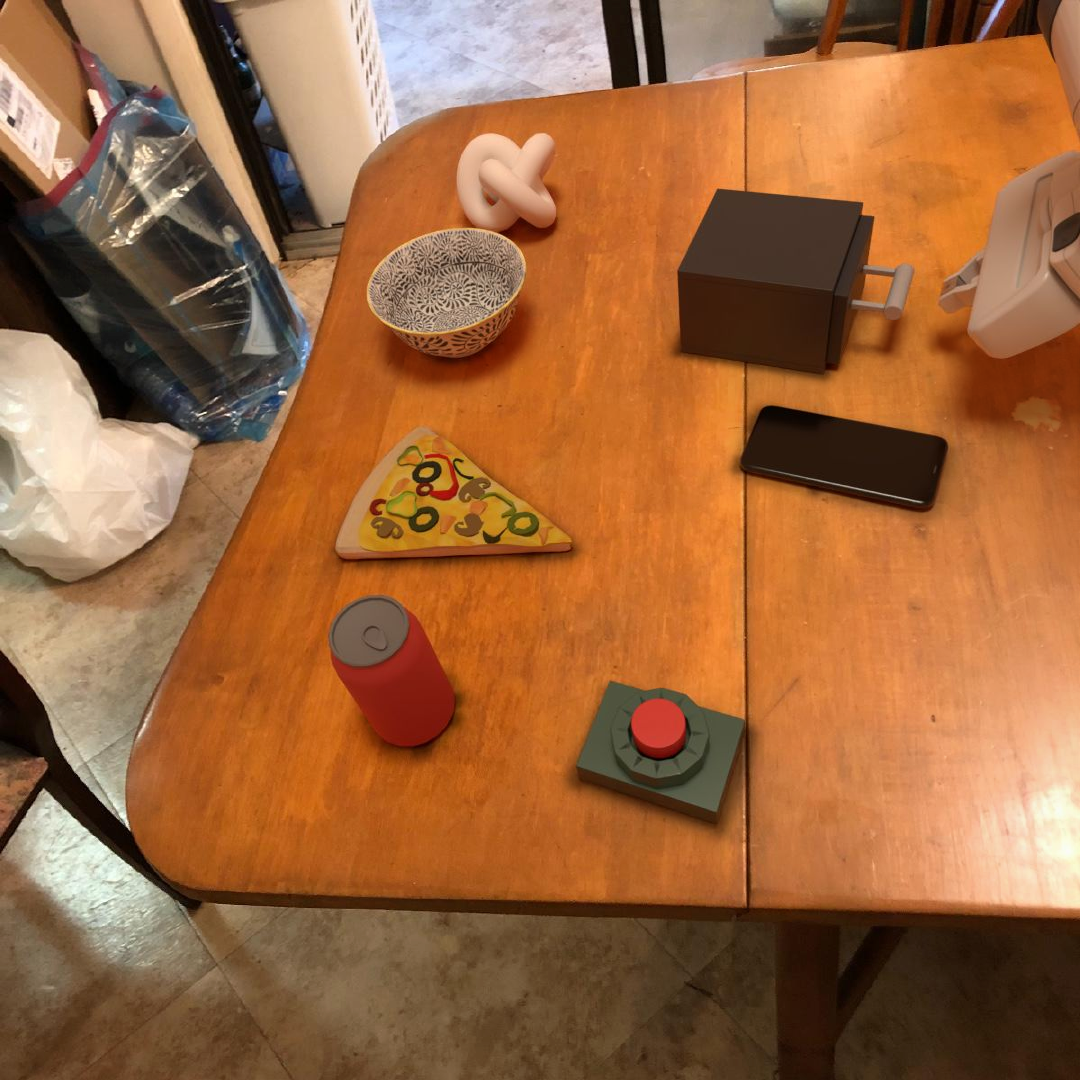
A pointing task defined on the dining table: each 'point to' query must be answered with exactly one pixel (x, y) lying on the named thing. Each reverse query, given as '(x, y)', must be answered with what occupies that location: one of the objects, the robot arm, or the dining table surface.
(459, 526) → the pizza slice
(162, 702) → the dining table surface
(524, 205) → the white knot sculpture
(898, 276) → the pull-out drawer
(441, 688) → the beer can
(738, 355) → the drawer cabinet
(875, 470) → the smartphone
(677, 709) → the button
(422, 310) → the bowl
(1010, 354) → the robot arm
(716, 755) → the control block
